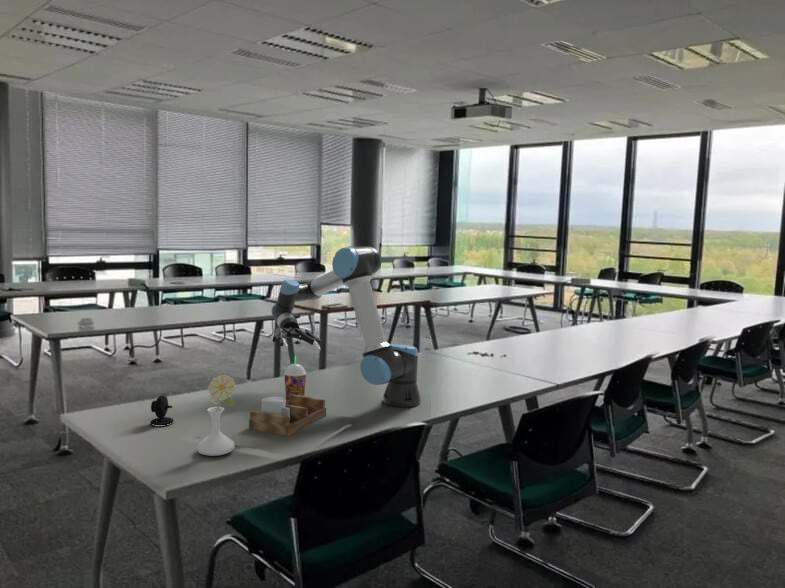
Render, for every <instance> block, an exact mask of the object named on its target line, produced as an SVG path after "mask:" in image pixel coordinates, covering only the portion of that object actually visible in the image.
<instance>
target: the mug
mask: <svg viewBox="0 0 785 588" xmlns="http://www.w3.org/2000/svg"><path fill="white" fill-rule="evenodd" d="M285 403H286V397H285V398H284V397H282V396H269V397H264V398H262V399H261V412H264V413H269V414H275V415H280V416H286V417H289V421H290V408H287V407H285Z"/></svg>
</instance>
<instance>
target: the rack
mask: <svg viewBox="0 0 785 588" xmlns="http://www.w3.org/2000/svg"><path fill="white" fill-rule="evenodd" d="M285 407H287V408H290V421H289V417H286V416H280V415H275V414H269V413H264V412H262V411H258V410H252V409H251V410H250V412H249V413H250V415H249V419H248V429H249V430H253V431H254V430H255V431H261V432H265V433H270V434H274V435H275V434H276V435H280V436H286V437H290V436H292V435H294V434H295V433H297V432H299V431H301V430H303V429H304V428H307V427H309V426H310V425H312V424H314V423H316V422H317V421H320V420H321V419H324V418H325V417H326V416H327V407H326V399H324V398H317V397H311V396H307V395H306V396H300V395H294V394H289V402H287V403H286V402H285Z"/></svg>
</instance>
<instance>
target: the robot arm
mask: <svg viewBox="0 0 785 588" xmlns="http://www.w3.org/2000/svg"><path fill="white" fill-rule="evenodd" d="M382 263H383V262H382V255H381V254H380V252H379V251H378V250H377V249H376V248H374V247H373V246H369V245H367V246H365V245H364V246H345V247H341V248H340V249H338V250H337V251H336V252H335V254H334V257H333V258H332V263H331V265H332V266H331V267H332V270H331V271H329V272H327V273H324V274H323V275H320V276H319V277H317V278H314V279H312V280H310V281H308V282H306V283H299V282H298V281H296V280H295V279H289V278H286V279H283V281H282V282H281V285H280V288H279V292H278V296H277V300H276V302H275V303H274V304H273V305H272V306H271V310H270V311H271V315H272V318H273V319H274V321H275V323H276V324H277V326H276V328H275V333H273V338H272V343H275V342H276V345H277V346H280V347H281V348H282V350H283V352H284V353H287V351H288V348H289V345H288V344H287V341H286V340H287V339H288V338H290V339H291V338H292V339H297V340H300V341H304V342H306V343H307V344H309V345H311V347H312V348H313V350H314V352H315V354H316V355H320V352H321V342H322V339H320V338H319V337H318V336H316V335H315V334H313V333H312V332H310V331H309V329H305V330H302V329H300V328H301V327H300V325H299V323H298V321H297V320H296V318H295V316H294V314H293V310H294V307H295V304H296V303H298V302H304V301H314V300H319V299H320V298H322V296H323V295H325V294H326V293H329V292H332V291H333V290H335V289H337V288H340V287H342V286H345V287H347V288H348V291H349V295H350V298H351V302H352V306H353V310H354V313H355V317H356V320H357V324H358V327H359V331H360V336H361V339H362V343H363V346H364V348H363V350H362V353H361V354H362V357H363V358H362V359H361V361H360V365H359V369H360V373H361V375H362V377H363V378H364V380H365V381H366V382H368V383H369V384H370V385H373V386H380V385H384V384H385V385H386V387H385V390H384V393H383V395H382V401H383V403H384V404H385V405H388V406H392V407H398V408H411V407H416V406H419V405H420V404H421V402H422V401H421V398H422V397H421V393H420V389H419V387H418V364H419V363H418V362H419V361H418V360H419V352H418V348H417V347H415V346H413V345H406V344H396V343H395V344H393V343H392V344H391V343H389V342H388V341H387V338H386V335H385V332H384V328H383V325H382V322H381V316H380V315H379V313H380V312H379V310H378V307H377V302H376V299H375V296H374V292H373V288H372V285H371V280H372V278H373V275H375V274H376V273H377V272H378V271H379V270H380V269H381V266H382Z"/></svg>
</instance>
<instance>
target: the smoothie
mask: <svg viewBox="0 0 785 588" xmlns="http://www.w3.org/2000/svg"><path fill="white" fill-rule="evenodd" d="M283 375H284V390H285V403H287V402H289V394H294V395H300V396H305V395H306V381H307V380H306V379H307V371H306V370H305V368H304V367H303V365H301V364H300V363H297V356H296V355H295V356H294V362H293V363H291V364H289V365H288V366H287V367H286V369H285V371H284V372H283Z"/></svg>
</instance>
